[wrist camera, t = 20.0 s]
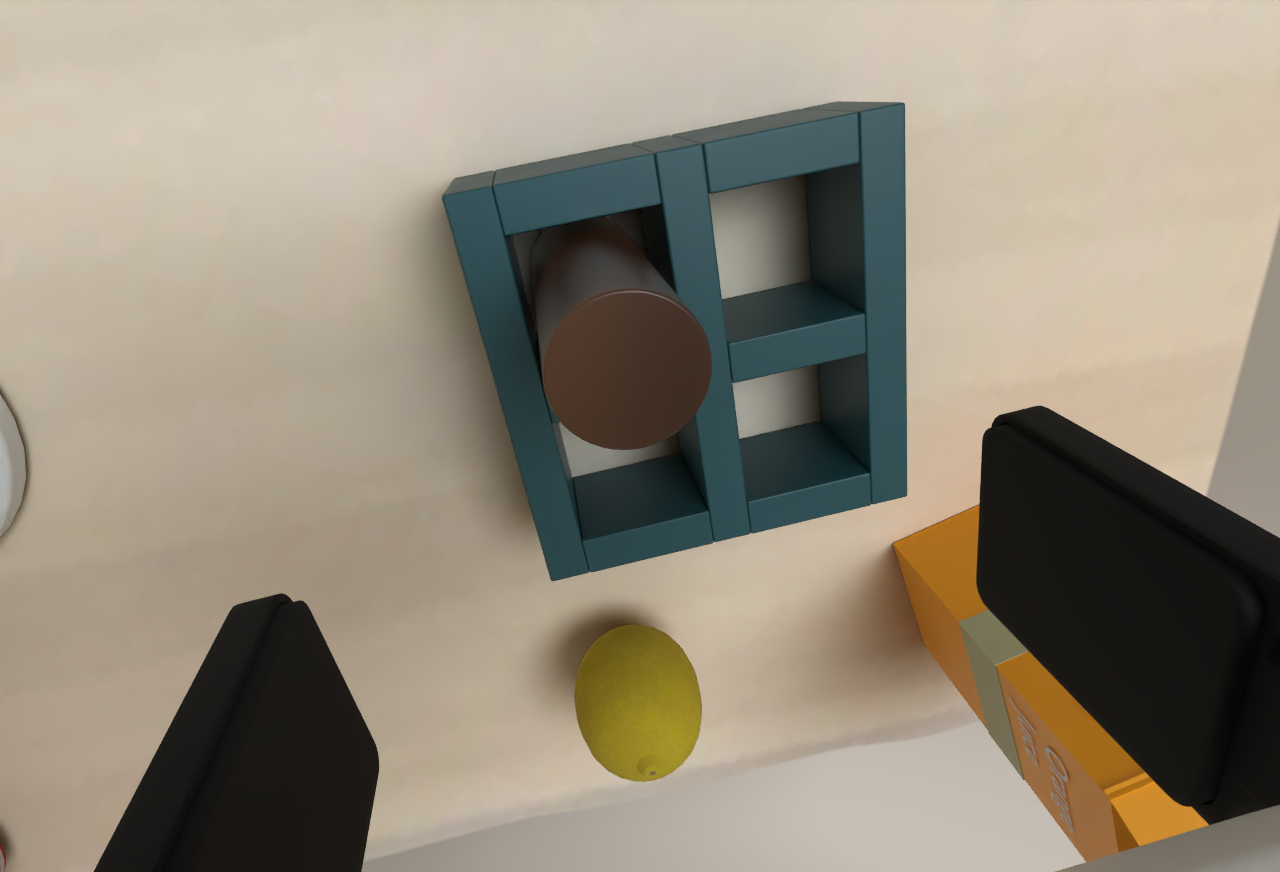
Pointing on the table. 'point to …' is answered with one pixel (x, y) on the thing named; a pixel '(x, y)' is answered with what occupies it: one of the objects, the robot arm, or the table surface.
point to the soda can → (2, 859)
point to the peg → (614, 338)
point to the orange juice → (1030, 704)
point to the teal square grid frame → (713, 330)
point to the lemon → (638, 702)
